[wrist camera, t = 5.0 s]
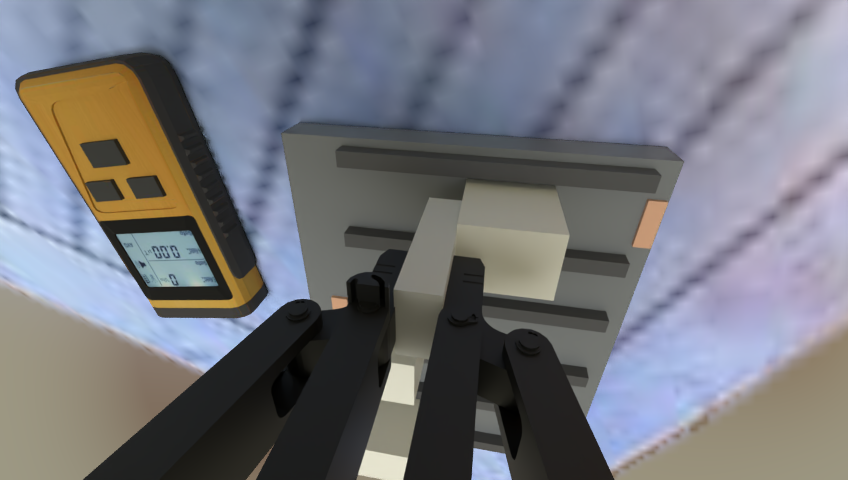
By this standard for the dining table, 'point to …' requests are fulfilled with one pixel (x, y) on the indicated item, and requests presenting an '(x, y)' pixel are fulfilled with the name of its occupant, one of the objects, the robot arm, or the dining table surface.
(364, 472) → the tab
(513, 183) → the tab
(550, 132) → the dining table surface
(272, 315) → the robot arm
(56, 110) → the electronic device
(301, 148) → the switch bank
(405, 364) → the tab
